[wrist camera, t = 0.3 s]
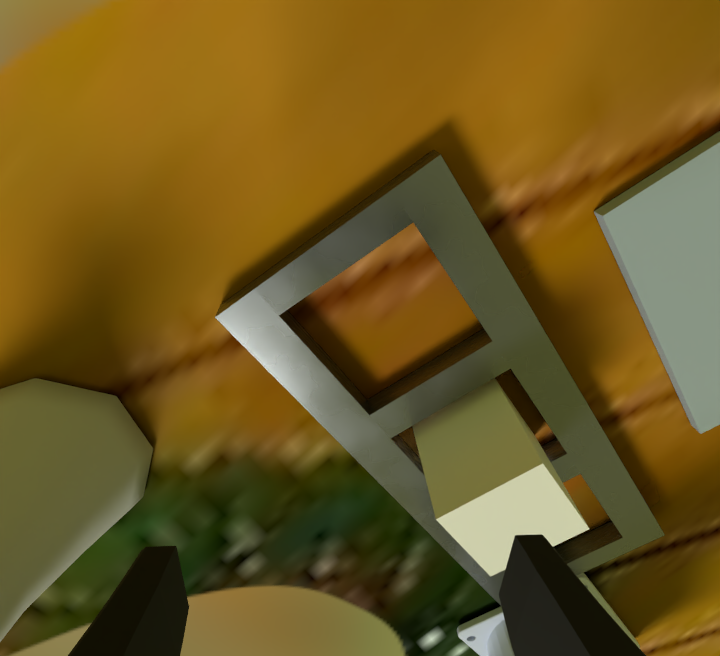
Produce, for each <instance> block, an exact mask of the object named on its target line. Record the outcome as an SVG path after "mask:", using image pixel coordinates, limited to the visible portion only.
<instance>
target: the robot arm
mask: <svg viewBox="0 0 720 656" xmlns="http://www.w3.org/2000/svg"><path fill="white" fill-rule="evenodd" d="M499 598H500V602H501V606H500V607H498V608H496V609H494V610H492V611H490V612H487V613H485V614H483V615H481V616H479V617H476V618H474V619H472V620H470V621H468V622H466V623H463V624H461V625H460V626H459V627H458V628H457V633H458V636H459V638H460V639H461V640H463V641H464V642H465V643H466V644H467V645H468V646H469V647H471V648H472V649H473V650H474V651H475V652H476V653H477V654H479V655H480V656H646V655H645V654H644V653H643V652H642V651H641V650H640V645H639V644H638V642H637V640H636V639H635V638H634V636H633V635H632V634H631V632H630V631H629V630H628V629H627V627H626V626H625V625H624V623H623V622H622V621H621V620H620V618H619V617H618V616H617V614H616V613H615V612H614V611H613V609H612V608H611V607H610V605H609V604H608V603H607V602H606V600H605V599H604V598H603V596H602V595H601V594H600V593H599V591H598V590H597V589H596V587H595V586H594V585H593V584H592V582H591V581H590V580H589V578H588V577H587V576H586V575H585V574H584V573H581V574H579V575H577V576H576V574H575V573H574V572H573V571H572V570H571V568H570V567H569V566H568V565H567V563H566V562H565V561H564V560H563V559H562V557H561V556H560V555H559V554H558V552H557V551H556V550H555V549H554V548H553V546H552V545H551V544H550V543H549V541H548V540H547V539H546V538H545V537H544V536H543V535H542V534H538V535H515V537H514V541H513V544H512V548H511V552H510V555H509V559H508V562H507V566H506V570H505V573H504V577H503V580H502V584H501V588H500V591H499ZM188 609H189V605H188V600H187V595H186V590H185V586H184V581H183V576H182V571H181V567H180V562H179V557H178V552H177V548H176V546H160V547H145V548H144V549H143V550H142V551H141V552H140V553H139V555H138V557H137V558H136V560H135V561H134V563H133V564H132V566H131V567H130V569H129V570H128V572H127V573H126V575H125V576H124V578H123V579H122V581H121V582H120V584H119V585H118V587H117V588H116V590H115V591H114V592H113V594H112V595H111V597H110V598H109V600H108V601H107V603H106V604H105V605H104V607H103V608H102V610H101V611H100V612H99V614H98V615H97V617H96V618H95V620H94V621H93V622H92V624H91V625H90V626H89V628H88V629H87V631H86V632H85V633H84V635H83V636H82V637H81V639H80V640H79V641H78V643H77V644H76V645H75V647H74V648H73V649H72V651H71V652H70V654H69V655H68V656H180V652H181V648H182V643H183V637H184V632H185V626H186V621H187V615H188Z"/></svg>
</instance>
